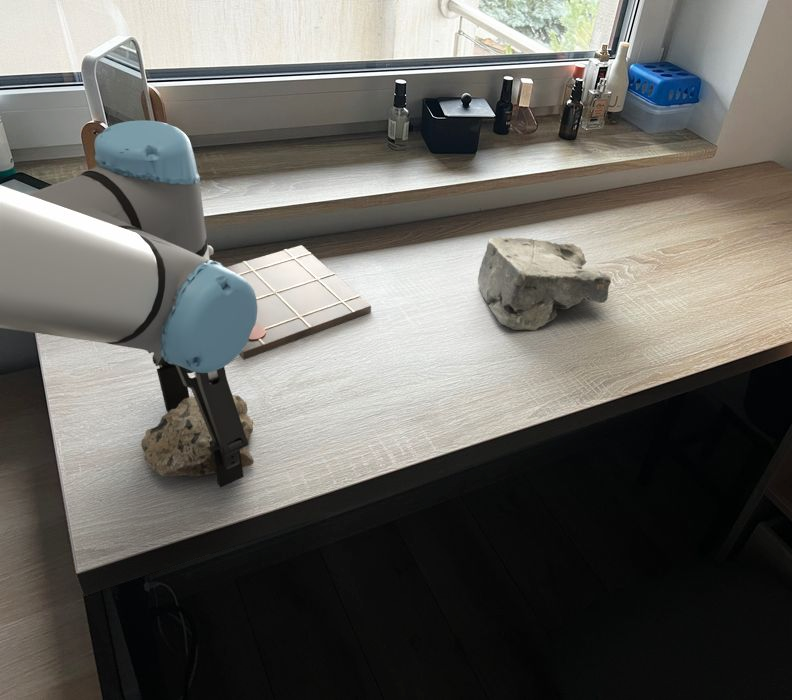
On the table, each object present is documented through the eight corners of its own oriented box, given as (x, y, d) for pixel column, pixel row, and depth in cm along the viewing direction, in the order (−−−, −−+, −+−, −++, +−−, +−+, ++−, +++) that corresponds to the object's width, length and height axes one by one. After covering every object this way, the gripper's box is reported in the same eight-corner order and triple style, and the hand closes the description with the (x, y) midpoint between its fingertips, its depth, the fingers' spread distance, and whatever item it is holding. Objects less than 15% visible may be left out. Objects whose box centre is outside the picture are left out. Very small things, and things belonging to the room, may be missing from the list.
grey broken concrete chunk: (609, 332, 109) (623, 270, 104) (498, 333, 104) (508, 268, 100) (570, 290, 122) (581, 234, 118) (470, 289, 118) (478, 230, 113)
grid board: (243, 359, 95) (243, 351, 94) (181, 287, 106) (179, 279, 106) (371, 312, 106) (371, 304, 105) (301, 251, 117) (301, 243, 116)
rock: (149, 421, 85) (143, 393, 82) (253, 411, 88) (249, 383, 85) (141, 492, 77) (134, 463, 74) (256, 478, 80) (252, 450, 77)
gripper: (272, 343, 64) (287, 498, 77) (160, 221, 78) (189, 370, 91) (189, 374, 60) (221, 532, 73) (86, 240, 74) (128, 393, 87)
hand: (203, 442), depth 82 cm, fingers open, 13 cm apart
